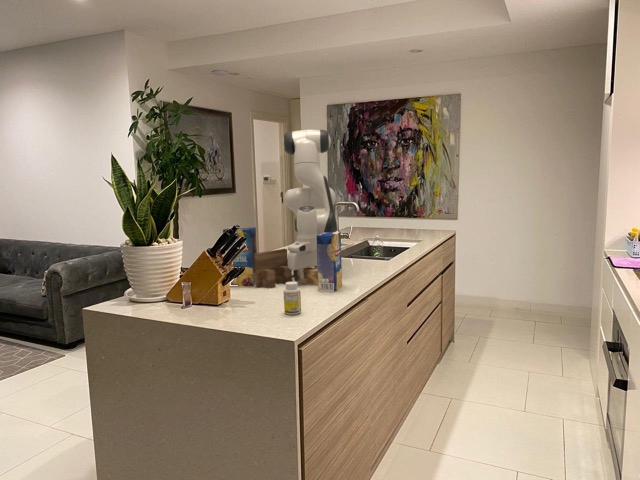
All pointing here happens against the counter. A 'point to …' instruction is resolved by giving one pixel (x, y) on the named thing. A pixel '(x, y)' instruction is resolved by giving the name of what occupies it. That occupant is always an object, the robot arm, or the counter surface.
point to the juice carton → (246, 257)
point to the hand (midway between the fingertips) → (309, 277)
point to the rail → (307, 276)
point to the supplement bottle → (292, 298)
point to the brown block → (271, 268)
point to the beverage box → (329, 261)
